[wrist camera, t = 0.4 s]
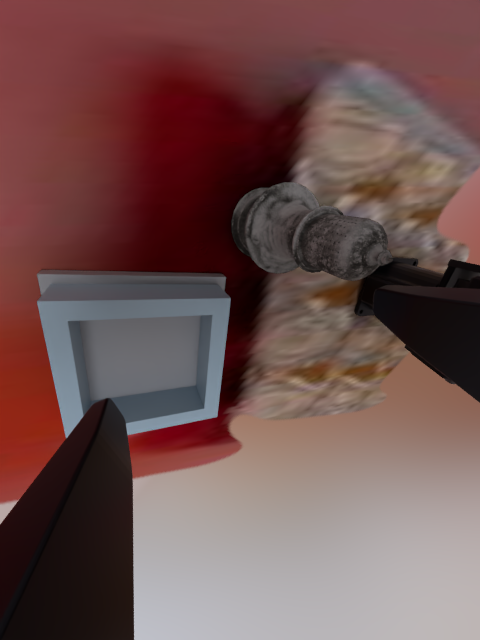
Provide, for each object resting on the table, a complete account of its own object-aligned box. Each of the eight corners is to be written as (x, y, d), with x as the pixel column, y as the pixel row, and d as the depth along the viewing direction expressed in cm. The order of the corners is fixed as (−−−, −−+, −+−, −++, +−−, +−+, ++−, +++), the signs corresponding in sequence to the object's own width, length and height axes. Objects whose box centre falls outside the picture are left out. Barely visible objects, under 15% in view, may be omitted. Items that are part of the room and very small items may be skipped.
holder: (221, 273, 21) (240, 289, 18) (210, 390, 26) (223, 420, 22) (41, 269, 16) (19, 290, 13) (69, 413, 21) (59, 455, 18)
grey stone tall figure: (212, 217, 19) (309, 251, 9) (273, 164, 19) (439, 139, 9) (253, 275, 22) (358, 348, 12) (305, 231, 22) (452, 266, 12)
